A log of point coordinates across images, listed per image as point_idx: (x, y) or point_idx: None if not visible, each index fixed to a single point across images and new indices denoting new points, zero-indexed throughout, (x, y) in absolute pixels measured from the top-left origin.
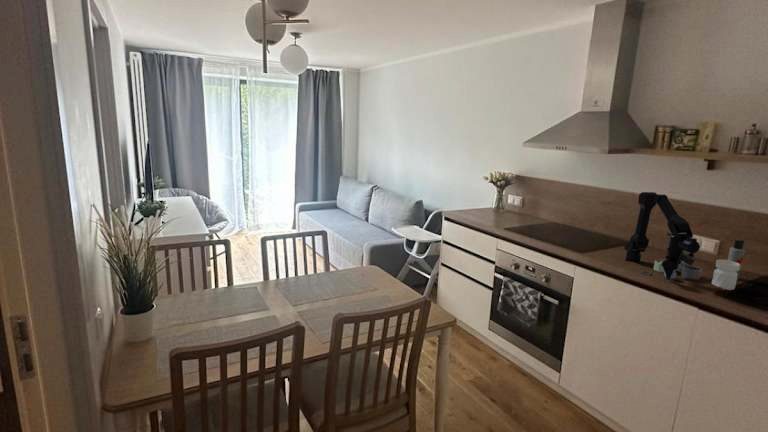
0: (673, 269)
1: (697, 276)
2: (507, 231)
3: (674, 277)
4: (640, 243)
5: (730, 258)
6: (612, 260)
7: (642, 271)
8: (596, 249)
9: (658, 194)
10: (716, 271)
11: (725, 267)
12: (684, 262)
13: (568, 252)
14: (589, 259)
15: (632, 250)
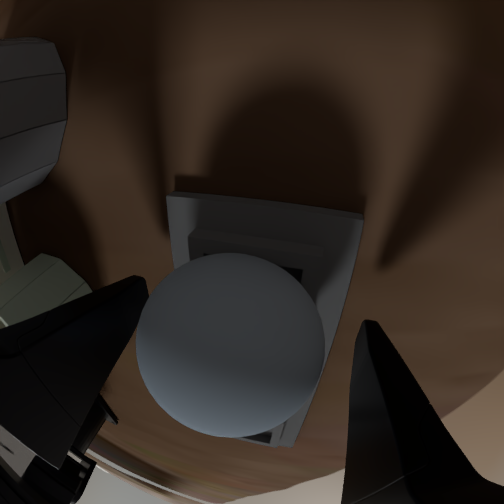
0: (481, 500)
1: (15, 44)
2: (172, 496)
3: (290, 275)
4: (49, 491)
5: None
6: (155, 448)
7: (242, 438)
8: (100, 436)
9: None
10: None
11: None
12: None
13: (203, 490)
14: (220, 485)
15: (77, 456)
